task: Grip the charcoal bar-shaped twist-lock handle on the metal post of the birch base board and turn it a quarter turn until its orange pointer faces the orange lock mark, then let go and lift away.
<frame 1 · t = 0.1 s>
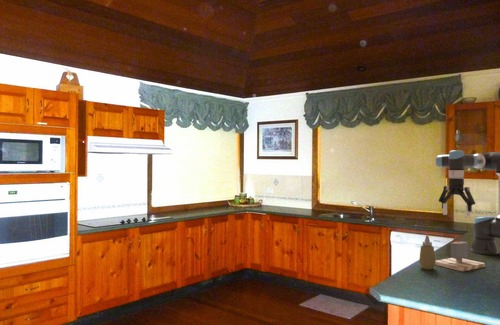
hand: (456, 216, 220), 28 cm above the countertop, tool pointing down, fingers open, 13 cm apart
coupling cap: (459, 249, 221), point 9 cm above the countertop, hinge at 0.0°
squeeze bottle: (427, 268, 214), on the countertop
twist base: (459, 265, 221), on the countertop
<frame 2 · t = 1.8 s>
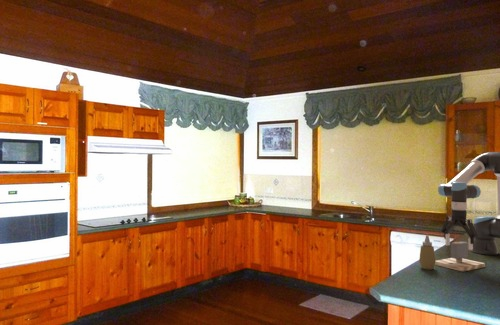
hand: (458, 247, 221), 10 cm above the countertop, tool pointing down, fingers open, 13 cm apart
nothing on the countertop moved.
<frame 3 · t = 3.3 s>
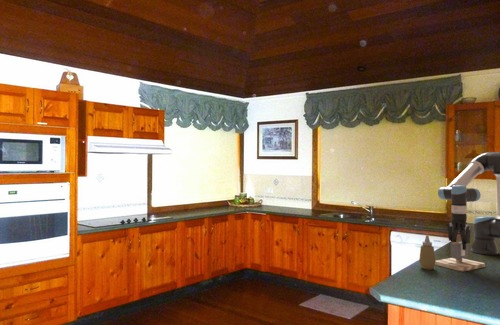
hand: (459, 254, 221), 6 cm above the countertop, tool pointing down, fingers closed on coupling cap, 4 cm apart
coupling cap: (459, 249, 221), point 9 cm above the countertop, hinge at 0.0°, touching gripper
everything else where it was.
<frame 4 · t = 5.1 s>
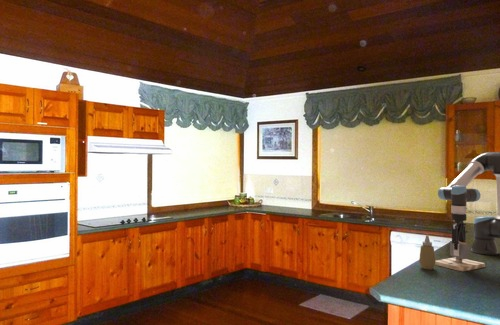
hand: (458, 254, 221), 6 cm above the countertop, tool pointing down, fingers closed on coupling cap, 6 cm apart
coupling cap: (459, 249, 221), point 9 cm above the countertop, hinge at 73.2°, touching gripper
everything else where it was.
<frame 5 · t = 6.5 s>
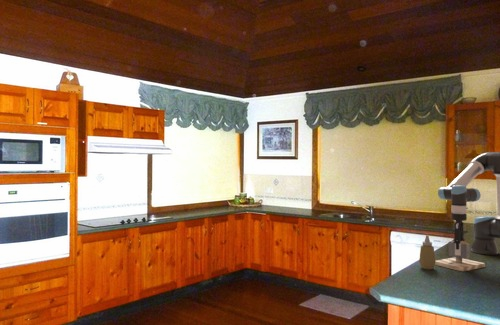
hand: (459, 253, 221), 7 cm above the countertop, tool pointing down, fingers open, 8 cm apart
coupling cap: (459, 249, 221), point 9 cm above the countertop, hinge at 94.7°
everything else where it was.
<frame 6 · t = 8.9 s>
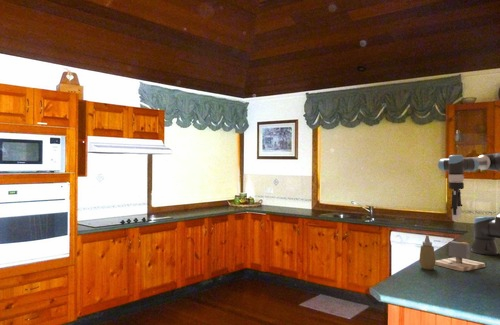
hand: (456, 219, 226), 25 cm above the countertop, tool pointing down, fingers open, 13 cm apart
nothing on the countertop moved.
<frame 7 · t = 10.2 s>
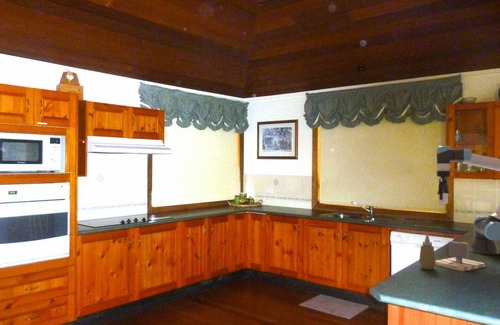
hand: (443, 204, 248), 32 cm above the countertop, tool pointing down, fingers open, 13 cm apart
nothing on the countertop moved.
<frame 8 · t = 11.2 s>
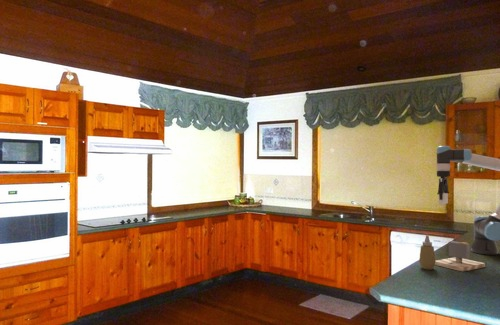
hand: (443, 204, 248), 32 cm above the countertop, tool pointing down, fingers open, 13 cm apart
nothing on the countertop moved.
at the end: coupling cap at +95° (first picture: +0°); the gripper is holding nothing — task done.
